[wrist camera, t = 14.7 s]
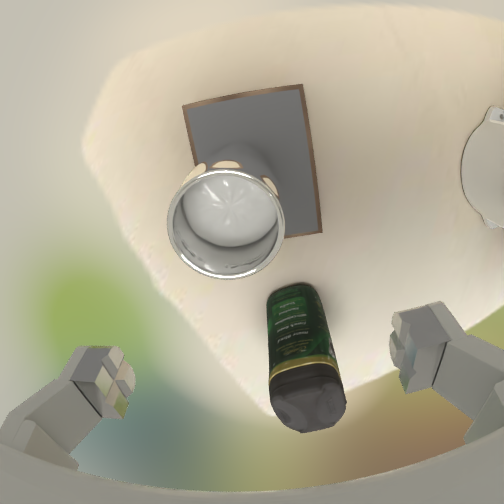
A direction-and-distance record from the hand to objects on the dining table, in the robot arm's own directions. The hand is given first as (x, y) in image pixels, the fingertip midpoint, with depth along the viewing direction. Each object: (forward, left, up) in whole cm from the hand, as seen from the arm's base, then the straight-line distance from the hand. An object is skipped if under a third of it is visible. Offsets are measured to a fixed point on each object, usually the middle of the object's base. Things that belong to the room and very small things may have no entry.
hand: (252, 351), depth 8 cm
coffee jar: (-2, +22, -30) cm, 37 cm away
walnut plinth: (0, 0, -30) cm, 30 cm away
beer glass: (+2, 0, -25) cm, 25 cm away
